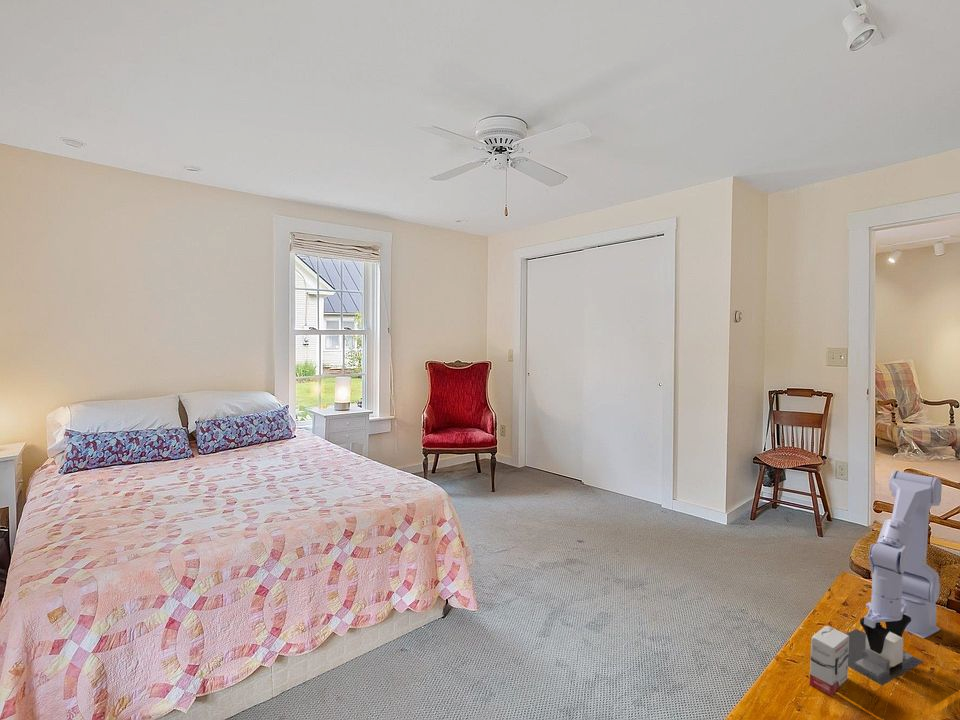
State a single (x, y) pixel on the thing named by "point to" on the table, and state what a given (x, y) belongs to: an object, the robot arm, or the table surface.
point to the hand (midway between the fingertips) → (884, 646)
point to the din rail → (875, 660)
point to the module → (891, 648)
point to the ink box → (829, 659)
